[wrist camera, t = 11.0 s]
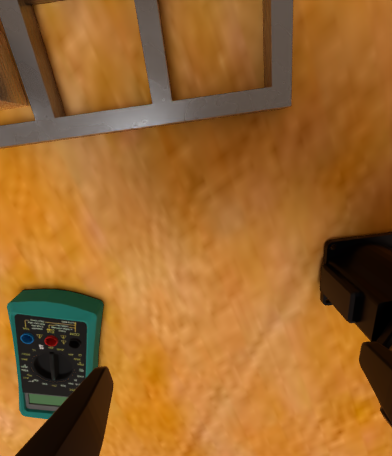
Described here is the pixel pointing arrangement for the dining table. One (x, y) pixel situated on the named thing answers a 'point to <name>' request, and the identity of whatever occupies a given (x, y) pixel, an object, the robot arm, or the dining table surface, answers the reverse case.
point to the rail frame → (157, 76)
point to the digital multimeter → (53, 346)
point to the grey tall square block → (9, 80)
